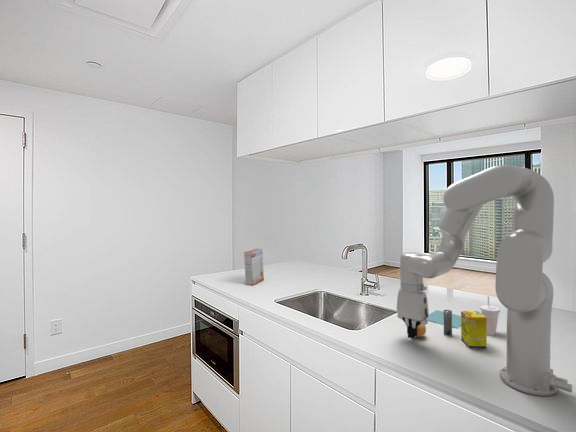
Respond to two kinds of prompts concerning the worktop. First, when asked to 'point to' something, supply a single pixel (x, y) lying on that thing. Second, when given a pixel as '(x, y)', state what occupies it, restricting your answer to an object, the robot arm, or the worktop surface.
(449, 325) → the post right
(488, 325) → the smoothie
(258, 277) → the cracker box
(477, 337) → the supplement box
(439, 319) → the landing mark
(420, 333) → the ball
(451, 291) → the worktop surface
